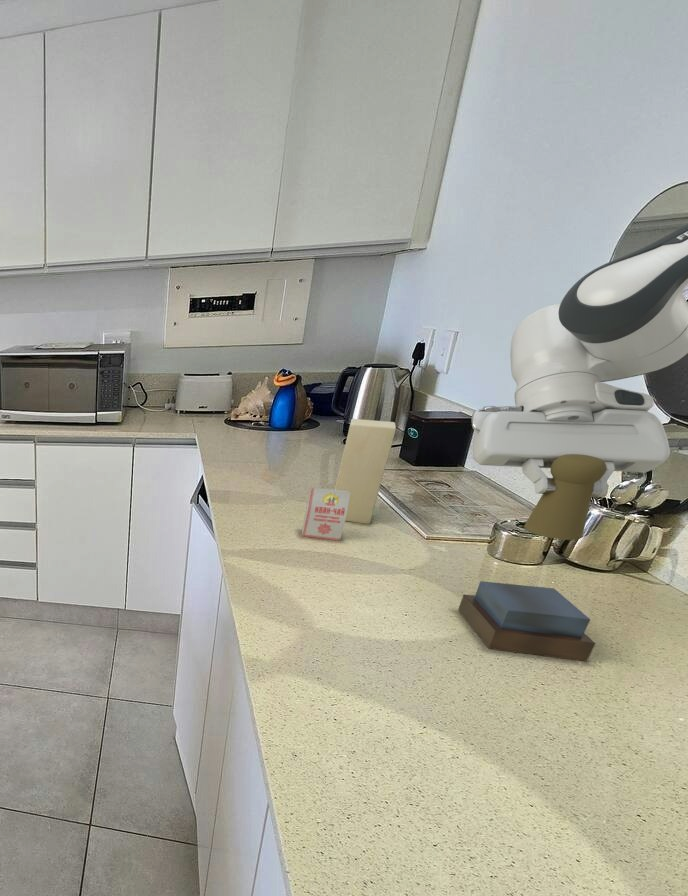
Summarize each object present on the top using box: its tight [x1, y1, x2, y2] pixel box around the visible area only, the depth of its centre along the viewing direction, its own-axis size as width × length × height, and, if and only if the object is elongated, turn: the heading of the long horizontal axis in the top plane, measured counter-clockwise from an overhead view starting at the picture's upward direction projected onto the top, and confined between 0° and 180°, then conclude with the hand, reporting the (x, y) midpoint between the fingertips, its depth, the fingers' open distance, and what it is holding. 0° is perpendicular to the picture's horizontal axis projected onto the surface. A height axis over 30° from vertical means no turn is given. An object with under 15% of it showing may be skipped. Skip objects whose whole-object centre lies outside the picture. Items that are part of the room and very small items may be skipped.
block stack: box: [457, 580, 596, 662], centre depth 84 cm, size 11×11×6 cm
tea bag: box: [301, 487, 351, 542], centre depth 118 cm, size 4×7×10 cm, turn 64°
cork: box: [523, 454, 606, 541], centre depth 79 cm, size 6×6×11 cm
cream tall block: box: [333, 418, 397, 525], centre depth 124 cm, size 8×7×21 cm
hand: (571, 493), depth 79 cm, fingers closed on cork, 4 cm apart
